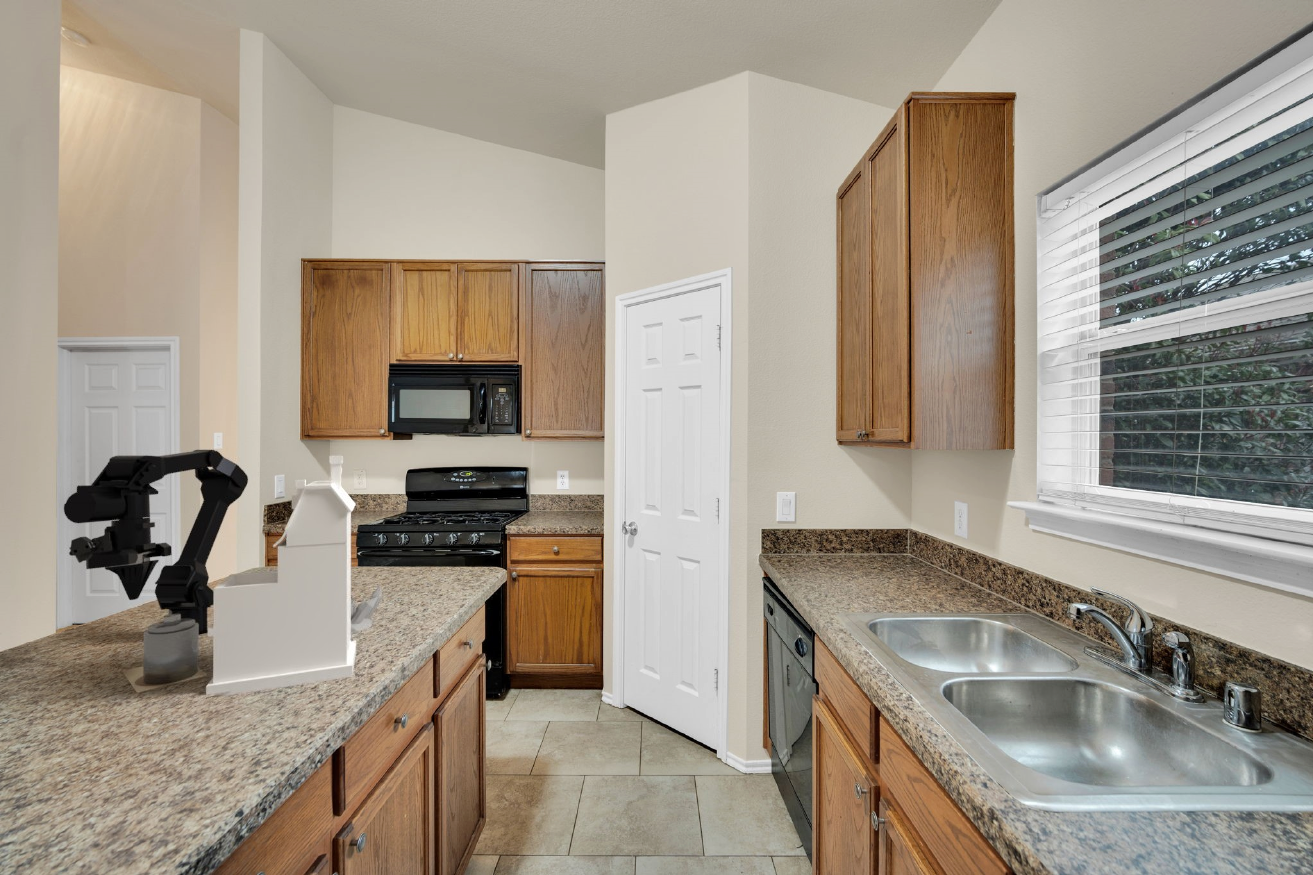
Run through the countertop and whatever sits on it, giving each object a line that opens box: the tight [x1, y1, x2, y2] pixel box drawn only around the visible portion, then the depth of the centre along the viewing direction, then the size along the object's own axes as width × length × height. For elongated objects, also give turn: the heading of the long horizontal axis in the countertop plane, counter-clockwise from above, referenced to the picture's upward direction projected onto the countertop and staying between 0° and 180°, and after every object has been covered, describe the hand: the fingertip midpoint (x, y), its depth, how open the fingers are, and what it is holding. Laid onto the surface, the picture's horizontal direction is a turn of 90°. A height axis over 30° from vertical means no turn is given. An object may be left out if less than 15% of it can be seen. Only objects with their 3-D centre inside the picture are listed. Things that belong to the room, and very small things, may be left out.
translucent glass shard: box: [351, 584, 383, 633], centre depth 136 cm, size 10×13×15 cm
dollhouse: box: [205, 455, 357, 699], centre depth 109 cm, size 22×15×40 cm
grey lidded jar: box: [142, 613, 200, 685], centre depth 106 cm, size 8×8×11 cm
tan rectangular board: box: [121, 665, 208, 693], centre depth 107 cm, size 10×14×1 cm, turn 50°
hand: (133, 599), depth 114 cm, fingers closed
